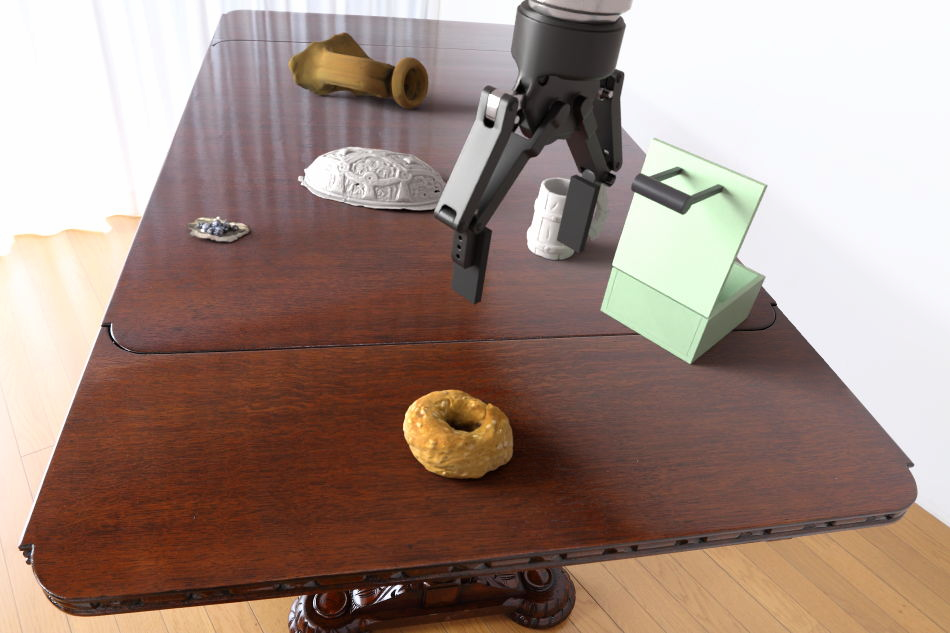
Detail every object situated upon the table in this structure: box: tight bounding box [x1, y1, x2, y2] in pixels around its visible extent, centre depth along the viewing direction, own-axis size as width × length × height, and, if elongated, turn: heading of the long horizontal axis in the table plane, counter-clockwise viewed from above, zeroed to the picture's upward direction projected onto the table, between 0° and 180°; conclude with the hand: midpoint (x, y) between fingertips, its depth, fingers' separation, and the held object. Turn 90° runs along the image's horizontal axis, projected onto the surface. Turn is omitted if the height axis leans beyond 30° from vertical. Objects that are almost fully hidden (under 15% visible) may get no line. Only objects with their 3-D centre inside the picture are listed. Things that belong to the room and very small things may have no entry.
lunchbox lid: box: [612, 137, 769, 318], centre depth 74 cm, size 16×14×10 cm
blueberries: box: [187, 216, 251, 243], centre depth 93 cm, size 7×8×2 cm
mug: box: [526, 177, 610, 261], centre depth 98 cm, size 8×12×12 cm, turn 106°
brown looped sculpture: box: [288, 31, 429, 110], centre depth 137 cm, size 18×13×22 cm
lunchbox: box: [600, 260, 766, 365], centre depth 89 cm, size 16×14×7 cm
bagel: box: [402, 389, 514, 480], centre depth 66 cm, size 10×11×5 cm
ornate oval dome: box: [297, 146, 447, 211], centre depth 108 cm, size 16×25×7 cm, turn 84°
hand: (521, 268), depth 59 cm, fingers open, 13 cm apart
